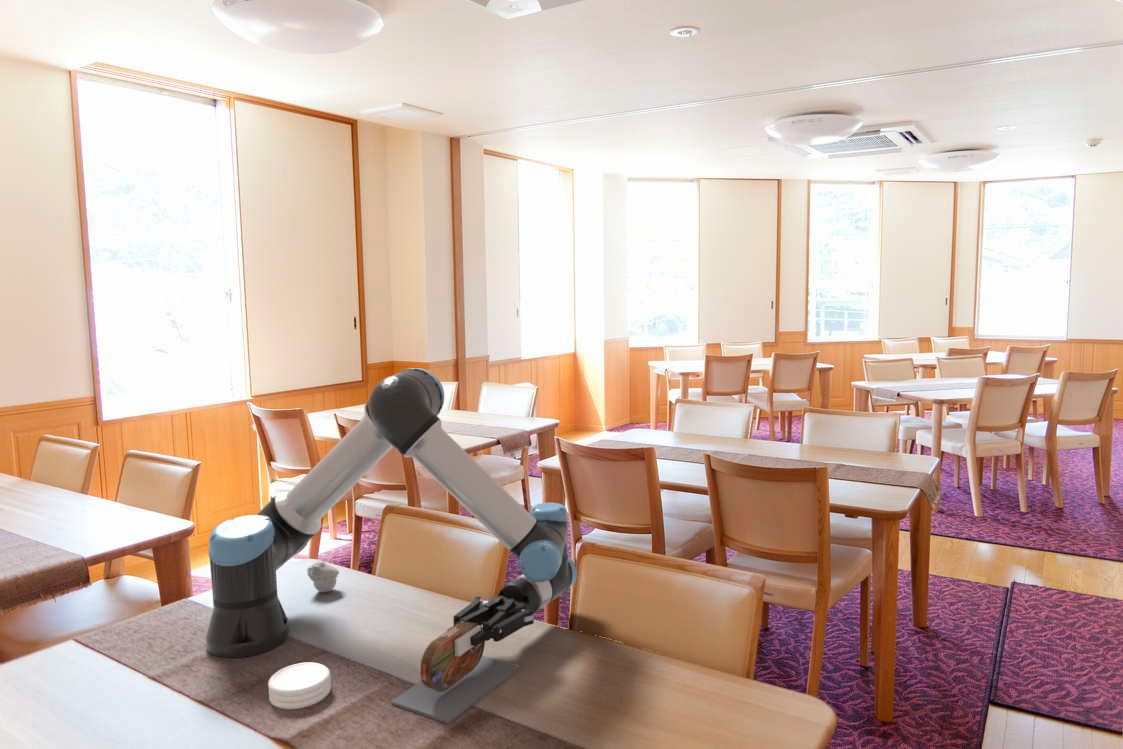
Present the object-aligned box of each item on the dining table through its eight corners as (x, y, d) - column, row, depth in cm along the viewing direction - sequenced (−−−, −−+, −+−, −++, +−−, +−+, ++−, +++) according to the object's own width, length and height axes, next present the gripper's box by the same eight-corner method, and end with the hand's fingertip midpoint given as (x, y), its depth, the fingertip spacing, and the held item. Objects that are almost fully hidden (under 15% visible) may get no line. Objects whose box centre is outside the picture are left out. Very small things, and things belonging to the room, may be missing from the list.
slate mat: (391, 704, 128) (391, 701, 127) (465, 653, 145) (465, 650, 145) (448, 724, 122) (448, 721, 121) (518, 668, 139) (518, 665, 139)
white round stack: (342, 684, 135) (341, 665, 134) (308, 715, 125) (306, 694, 125) (293, 676, 138) (292, 657, 137) (256, 706, 128) (254, 686, 128)
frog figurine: (311, 587, 177) (309, 558, 176) (342, 585, 178) (340, 556, 177) (305, 597, 171) (303, 567, 170) (337, 596, 172) (336, 566, 171)
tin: (431, 701, 125) (432, 653, 124) (416, 695, 127) (417, 647, 125) (486, 661, 138) (487, 617, 137) (471, 655, 139) (472, 612, 138)
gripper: (559, 622, 147) (487, 678, 127) (492, 606, 155) (414, 656, 135) (558, 585, 146) (485, 635, 126) (491, 570, 154) (412, 615, 134)
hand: (449, 646), depth 130 cm, fingers closed on tin, 3 cm apart
